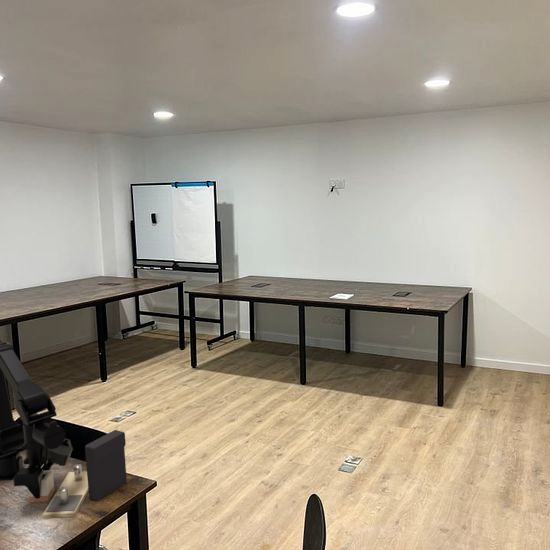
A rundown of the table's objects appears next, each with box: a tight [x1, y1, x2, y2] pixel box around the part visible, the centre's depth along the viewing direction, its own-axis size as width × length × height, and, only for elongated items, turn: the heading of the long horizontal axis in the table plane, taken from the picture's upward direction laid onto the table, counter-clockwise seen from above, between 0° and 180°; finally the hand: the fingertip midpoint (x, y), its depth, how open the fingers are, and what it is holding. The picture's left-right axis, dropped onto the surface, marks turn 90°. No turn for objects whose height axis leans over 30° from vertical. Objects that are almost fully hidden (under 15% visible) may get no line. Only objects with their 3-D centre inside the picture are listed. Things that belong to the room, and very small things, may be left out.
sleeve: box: [26, 469, 56, 503], centre depth 145 cm, size 5×5×6 cm
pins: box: [58, 463, 83, 505], centre depth 145 cm, size 2×14×4 cm, turn 3°
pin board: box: [42, 470, 89, 519], centre depth 145 cm, size 8×21×1 cm, turn 3°
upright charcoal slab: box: [84, 429, 128, 501], centre depth 146 cm, size 11×4×15 cm, turn 151°
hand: (41, 492), depth 145 cm, fingers closed on sleeve, 5 cm apart
